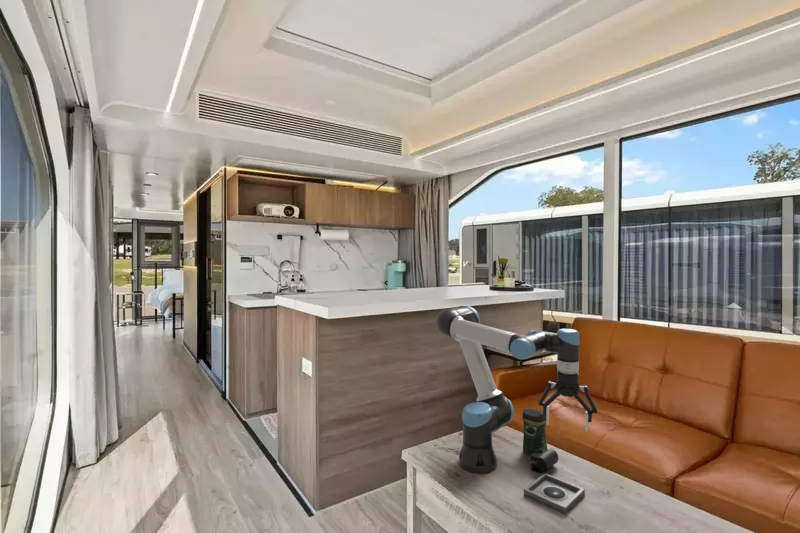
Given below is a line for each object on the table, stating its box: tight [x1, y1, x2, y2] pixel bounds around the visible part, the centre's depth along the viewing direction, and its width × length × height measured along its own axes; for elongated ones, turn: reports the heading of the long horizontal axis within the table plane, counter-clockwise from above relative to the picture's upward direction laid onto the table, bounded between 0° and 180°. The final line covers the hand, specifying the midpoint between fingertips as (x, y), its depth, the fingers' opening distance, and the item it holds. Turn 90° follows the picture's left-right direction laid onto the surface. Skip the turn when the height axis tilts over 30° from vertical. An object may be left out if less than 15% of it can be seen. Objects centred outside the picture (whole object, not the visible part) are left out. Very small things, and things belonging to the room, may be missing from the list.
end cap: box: [529, 447, 559, 475], centre depth 164 cm, size 10×7×7 cm
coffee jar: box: [521, 407, 548, 456], centre depth 176 cm, size 10×8×19 cm
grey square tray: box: [523, 472, 586, 515], centre depth 146 cm, size 15×15×2 cm
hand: (566, 427), depth 156 cm, fingers open, 13 cm apart
